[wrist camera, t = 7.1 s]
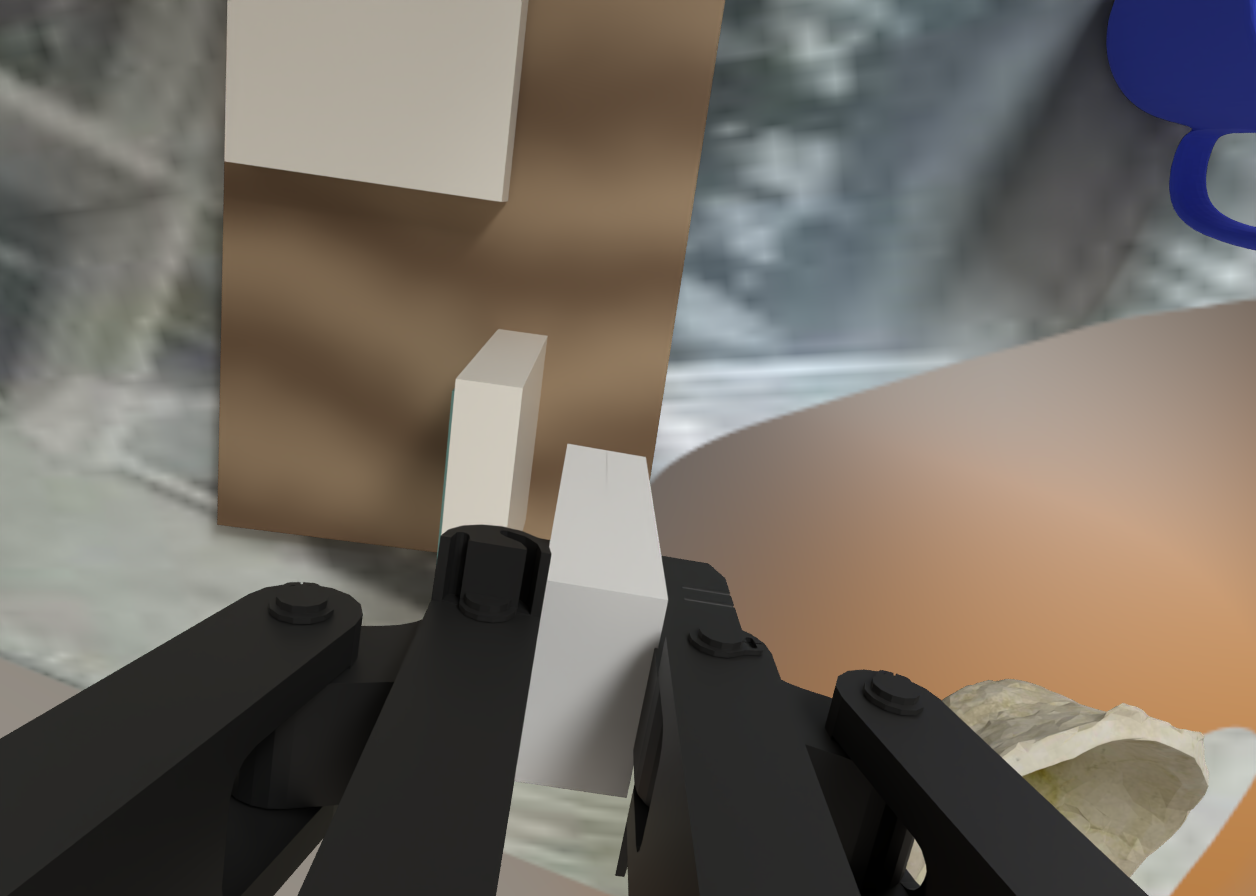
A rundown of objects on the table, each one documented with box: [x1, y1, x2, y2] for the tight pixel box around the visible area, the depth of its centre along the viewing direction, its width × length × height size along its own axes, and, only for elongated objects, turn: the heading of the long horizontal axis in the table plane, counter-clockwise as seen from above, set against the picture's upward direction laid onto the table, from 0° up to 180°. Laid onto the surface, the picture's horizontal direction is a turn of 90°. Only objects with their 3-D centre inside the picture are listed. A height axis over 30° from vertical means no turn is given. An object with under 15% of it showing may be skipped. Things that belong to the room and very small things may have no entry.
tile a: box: [224, 0, 529, 202], centre depth 33 cm, size 8×2×10 cm
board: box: [217, 0, 725, 552], centre depth 36 cm, size 26×18×1 cm
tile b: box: [436, 329, 548, 564], centre depth 33 cm, size 8×2×10 cm, turn 172°
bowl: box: [906, 679, 1209, 886], centre depth 39 cm, size 15×14×10 cm
